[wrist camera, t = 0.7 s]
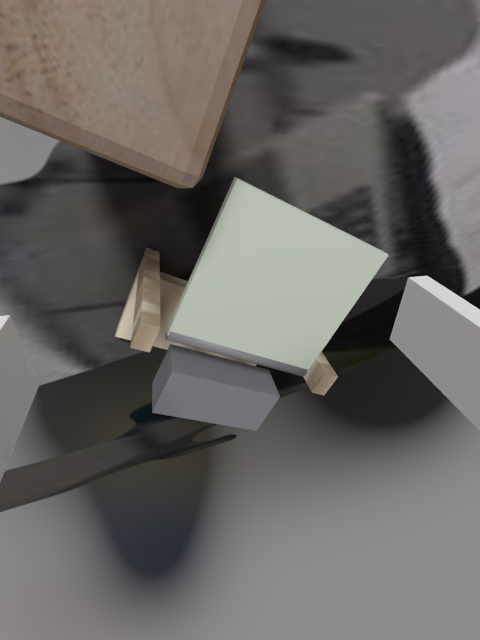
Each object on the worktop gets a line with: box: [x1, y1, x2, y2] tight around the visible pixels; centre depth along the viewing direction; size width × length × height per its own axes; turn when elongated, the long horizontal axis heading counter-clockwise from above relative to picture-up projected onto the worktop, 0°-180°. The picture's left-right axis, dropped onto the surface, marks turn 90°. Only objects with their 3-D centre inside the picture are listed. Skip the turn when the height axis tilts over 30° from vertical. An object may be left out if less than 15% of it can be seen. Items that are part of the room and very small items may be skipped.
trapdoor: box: [152, 177, 388, 431], centre depth 30 cm, size 14×21×4 cm, turn 153°
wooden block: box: [0, 0, 266, 188], centre depth 21 cm, size 10×10×20 cm
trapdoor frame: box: [115, 247, 338, 395], centre depth 38 cm, size 19×11×16 cm, turn 63°
